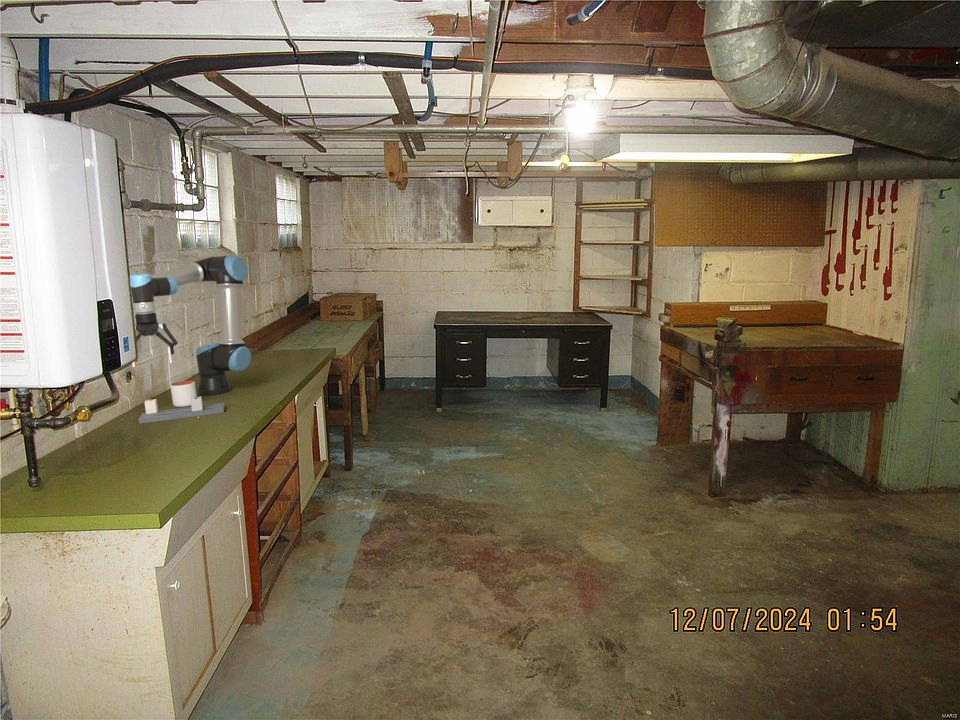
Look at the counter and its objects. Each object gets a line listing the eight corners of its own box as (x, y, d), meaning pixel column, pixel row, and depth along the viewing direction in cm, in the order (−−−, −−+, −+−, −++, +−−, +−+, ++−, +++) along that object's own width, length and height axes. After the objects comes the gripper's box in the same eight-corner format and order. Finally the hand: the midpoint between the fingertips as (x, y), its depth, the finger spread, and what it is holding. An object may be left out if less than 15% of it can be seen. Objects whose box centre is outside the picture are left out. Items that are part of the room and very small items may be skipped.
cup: (176, 409, 279) (172, 386, 277) (171, 405, 287) (168, 383, 285) (200, 404, 285) (197, 382, 283) (195, 400, 293) (191, 379, 291)
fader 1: (147, 411, 268) (145, 399, 267) (158, 410, 269) (156, 398, 268) (146, 414, 264) (144, 402, 263) (156, 412, 265) (155, 400, 264)
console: (143, 417, 267) (142, 413, 267) (224, 407, 277) (224, 402, 277) (139, 423, 258) (138, 418, 258) (223, 412, 268) (223, 407, 268)
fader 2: (192, 409, 268) (191, 397, 267) (203, 408, 269) (201, 396, 268) (192, 411, 264) (190, 399, 263) (202, 410, 265) (200, 398, 264)
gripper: (108, 316, 249) (117, 369, 253) (178, 310, 258) (185, 362, 262) (111, 314, 256) (119, 366, 260) (179, 309, 265) (186, 359, 269)
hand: (152, 364), depth 261 cm, fingers open, 13 cm apart
